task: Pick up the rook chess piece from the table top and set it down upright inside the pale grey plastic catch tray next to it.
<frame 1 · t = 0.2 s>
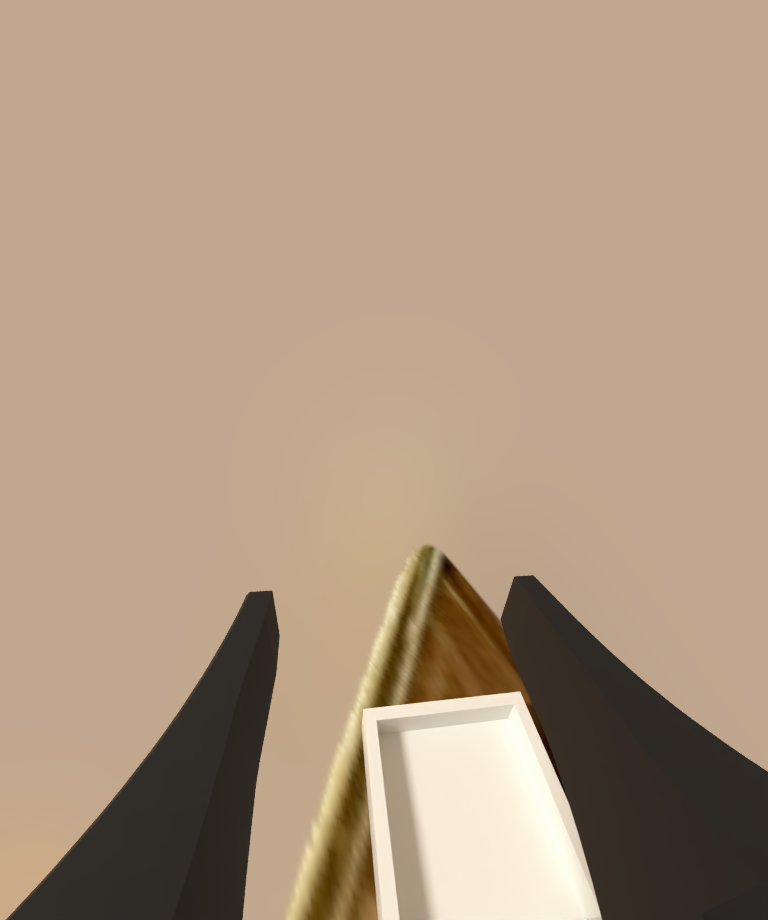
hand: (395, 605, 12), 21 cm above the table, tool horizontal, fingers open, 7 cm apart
catch tray: (464, 820, 24), on the table
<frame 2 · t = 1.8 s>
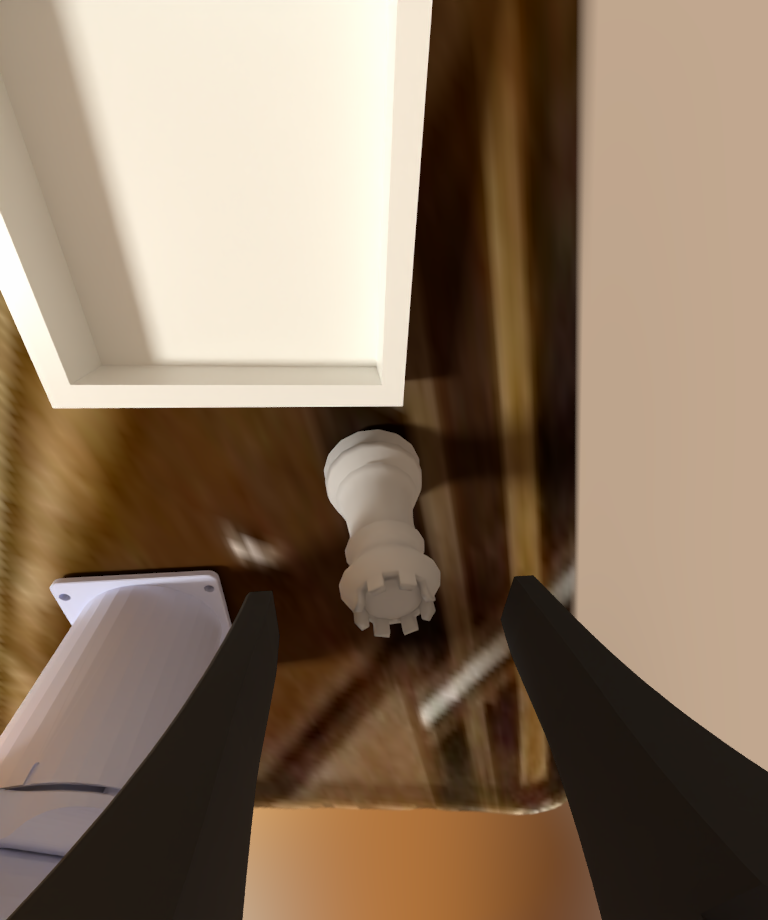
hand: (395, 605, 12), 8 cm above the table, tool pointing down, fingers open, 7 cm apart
catch tray: (224, 208, 12), on the table
rook chess piece: (371, 464, 18), on the table
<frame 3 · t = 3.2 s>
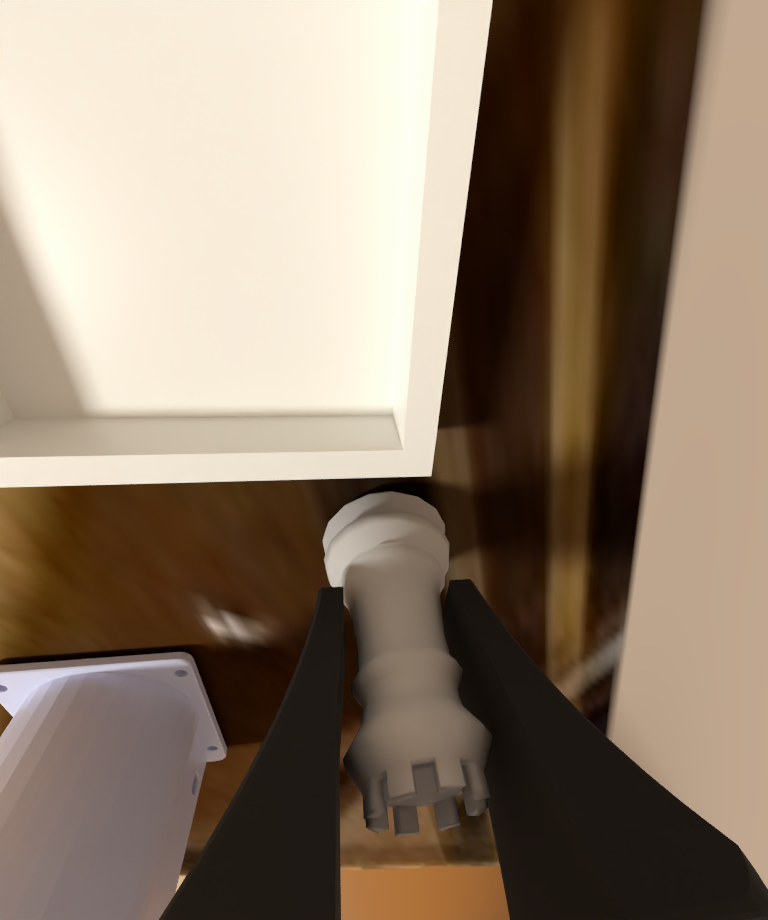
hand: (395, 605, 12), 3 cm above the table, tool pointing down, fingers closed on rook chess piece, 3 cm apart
catch tray: (177, 200, 8), on the table
rook chess piece: (383, 528, 14), on the table, touching gripper
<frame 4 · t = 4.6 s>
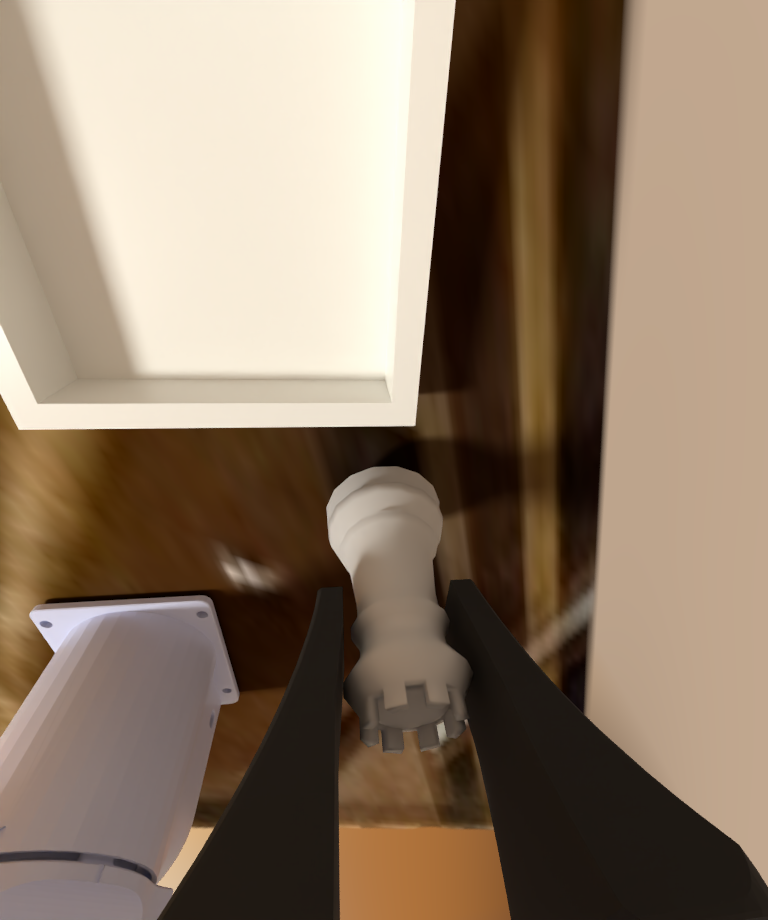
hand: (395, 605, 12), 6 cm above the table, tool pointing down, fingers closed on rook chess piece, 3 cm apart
catch tray: (213, 202, 11), on the table
rook chess piece: (382, 502, 16), point 1 cm above the table, touching gripper
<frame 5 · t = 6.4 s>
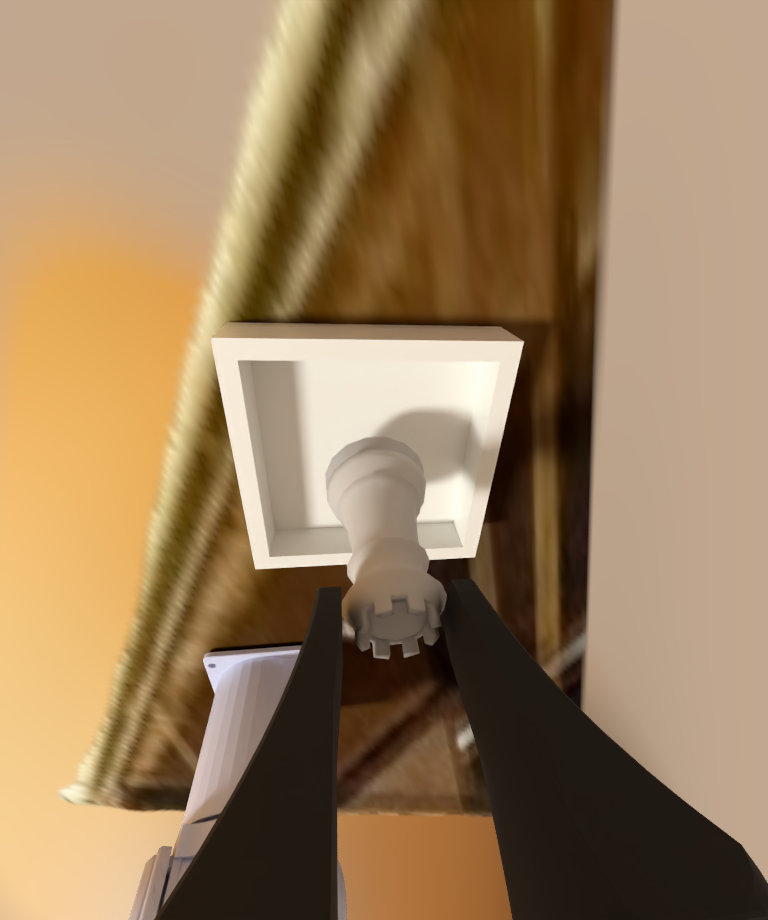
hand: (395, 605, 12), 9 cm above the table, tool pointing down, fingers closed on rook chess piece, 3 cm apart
catch tray: (367, 443, 19), on the table
rook chess piece: (373, 470, 18), point 2 cm above the table, touching gripper
when the fingers open (5 cm above the table, at t = 8.0 s): rook chess piece stays where it is, resting on catch tray.
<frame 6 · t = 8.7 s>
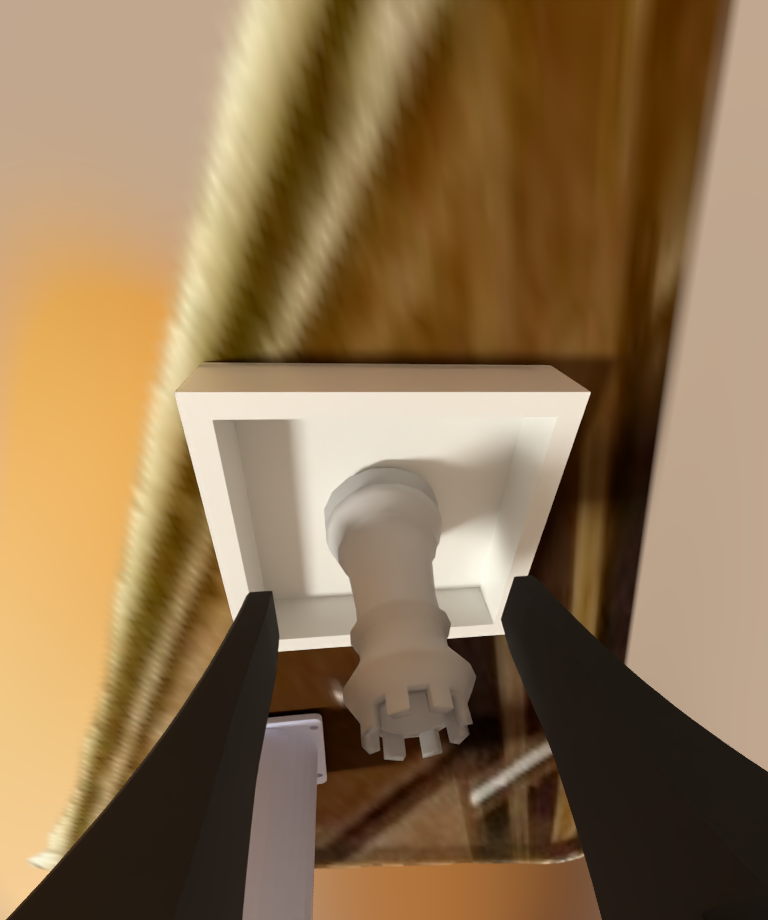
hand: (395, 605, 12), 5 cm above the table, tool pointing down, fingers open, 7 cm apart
catch tray: (379, 502, 16), on the table
rook chess piece: (380, 504, 15), resting on catch tray
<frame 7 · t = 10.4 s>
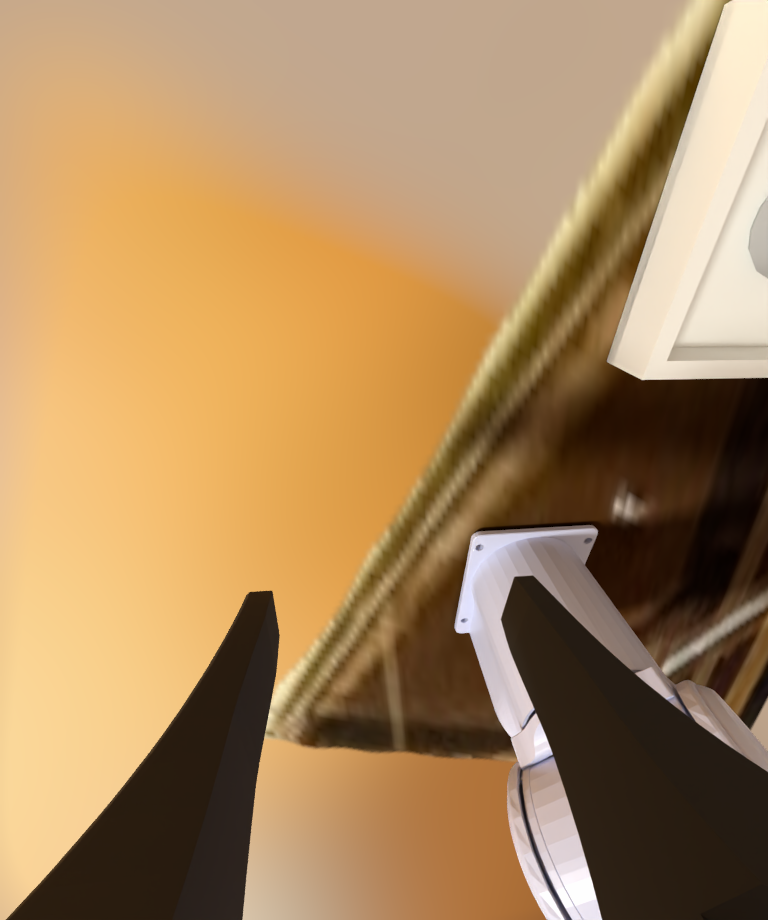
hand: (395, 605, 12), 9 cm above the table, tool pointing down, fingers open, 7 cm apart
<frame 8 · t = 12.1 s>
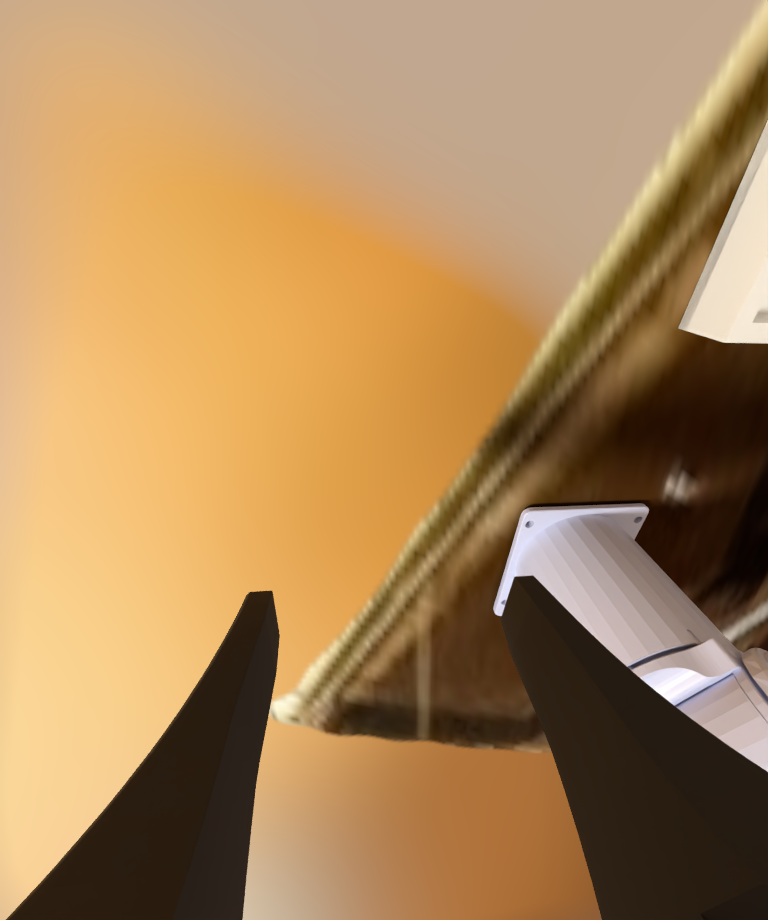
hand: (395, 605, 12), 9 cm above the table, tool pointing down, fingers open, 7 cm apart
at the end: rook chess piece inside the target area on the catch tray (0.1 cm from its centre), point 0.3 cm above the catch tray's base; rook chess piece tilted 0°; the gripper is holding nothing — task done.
